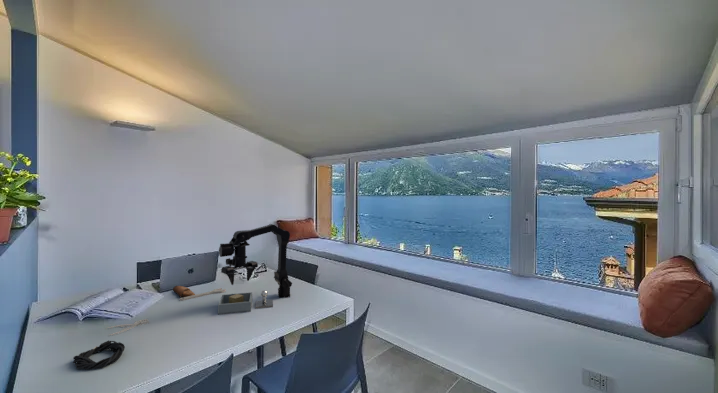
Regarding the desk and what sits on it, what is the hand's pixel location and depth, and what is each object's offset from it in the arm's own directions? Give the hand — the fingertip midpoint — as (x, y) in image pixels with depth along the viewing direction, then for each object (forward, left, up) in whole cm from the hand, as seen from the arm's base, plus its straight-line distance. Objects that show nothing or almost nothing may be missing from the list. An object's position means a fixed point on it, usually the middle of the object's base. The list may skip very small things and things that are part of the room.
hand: (240, 282), depth 163 cm
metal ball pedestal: (-13, +2, -13) cm, 18 cm away
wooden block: (+2, +2, -12) cm, 12 cm away
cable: (+45, +42, -13) cm, 63 cm away
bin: (+2, +2, -13) cm, 13 cm away
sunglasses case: (+34, -30, -13) cm, 47 cm away
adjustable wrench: (+23, -24, -13) cm, 36 cm away
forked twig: (+46, +14, -13) cm, 50 cm away
